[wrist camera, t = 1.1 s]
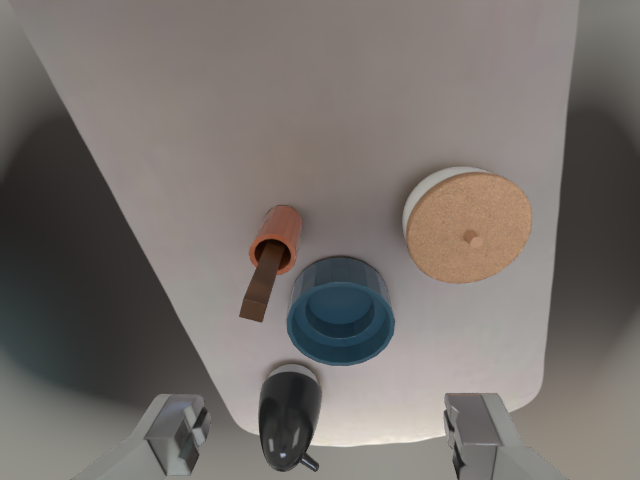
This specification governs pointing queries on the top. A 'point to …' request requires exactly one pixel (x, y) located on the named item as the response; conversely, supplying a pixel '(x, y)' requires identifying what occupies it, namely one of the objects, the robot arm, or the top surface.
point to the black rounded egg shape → (289, 416)
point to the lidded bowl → (465, 224)
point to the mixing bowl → (340, 312)
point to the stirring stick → (262, 282)
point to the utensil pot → (279, 236)
